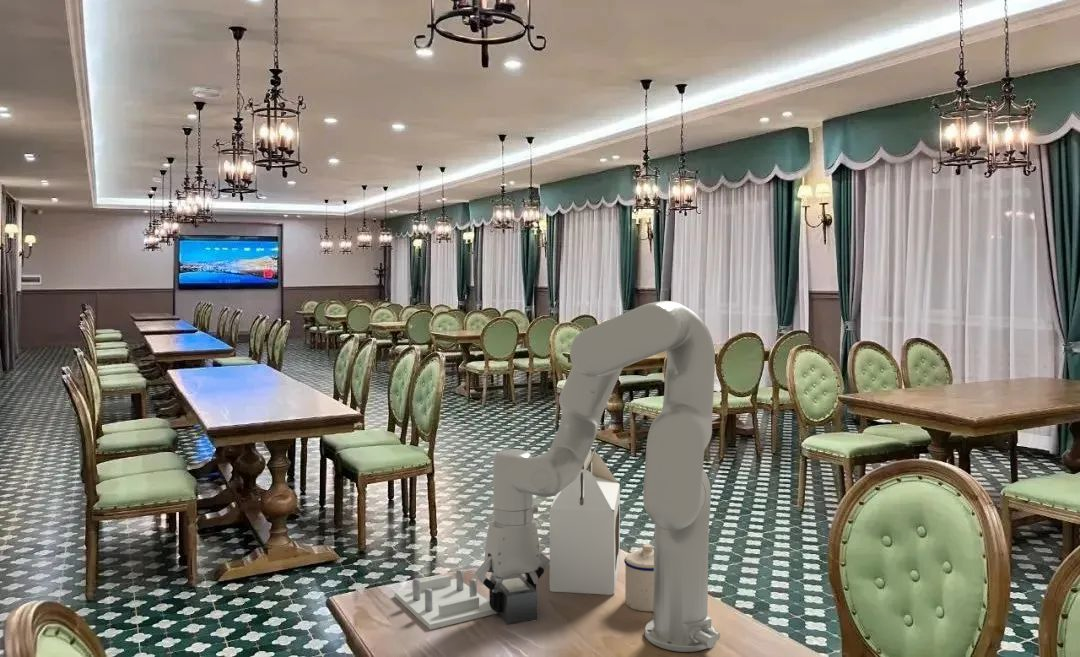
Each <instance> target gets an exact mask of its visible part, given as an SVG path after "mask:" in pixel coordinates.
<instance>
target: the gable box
mask: <svg viewBox="0 0 1080 657" xmlns="http://www.w3.org/2000/svg"><path fill="white" fill-rule="evenodd" d="M598 447H599V444H596V445H595V448H594V449H593V450H592V449H591V450H590V452H589V454H588V456H587V458H586V461H585V463H584V465H583V467H582V469H581V471H580V473H579V475H578V476H577V478H576V479H575V480H574V481H573V482H572V483H570V484H569V485H568V486H566V487H565V488H564V489H563V490H562V491H560V492H559V493H558V494H556V495H554V496H555V497H554V499H553V501H552V503H551V505H550V507H549V560H550V562H549V592H552V593H568V594H569V593H571V594H589V595H604V596H605V595H607V596H613V595H615V593H616V592H615V591H616V585H617V579H618V578H617V577H618V571H619V565H620V559H621V558H620V557H621V556H620V555H621V553H620V551H621V549H620V548H621V546H620V542H621V539H620V538H621V537H620V536H621V532H620V530H621V528H620V527H621V520H620V519H621V512H620V510H621V504H620V503H621V499H620V498H621V485H620V483H619V481H617V479H616V478H615V476H614V474H613V473H612V472H611V470H610V468H609V467H608V466H607V464H606V462H605V461H604V459H603V458H602V457H601V455H600V454H599V453H598V452H596V451H597V449H598Z"/></svg>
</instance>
